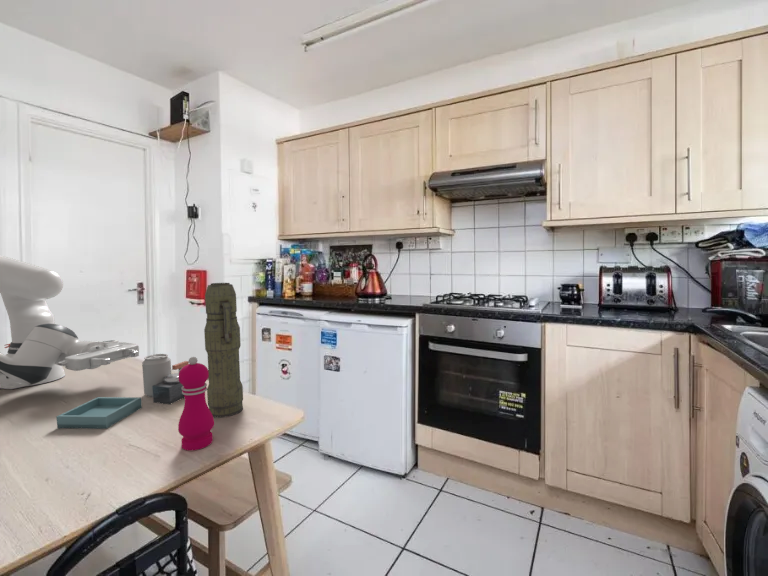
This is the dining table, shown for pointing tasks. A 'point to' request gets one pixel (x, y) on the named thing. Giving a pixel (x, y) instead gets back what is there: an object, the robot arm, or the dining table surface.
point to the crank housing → (169, 387)
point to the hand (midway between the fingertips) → (122, 357)
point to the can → (155, 371)
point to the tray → (99, 412)
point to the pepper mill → (195, 407)
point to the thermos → (223, 351)
